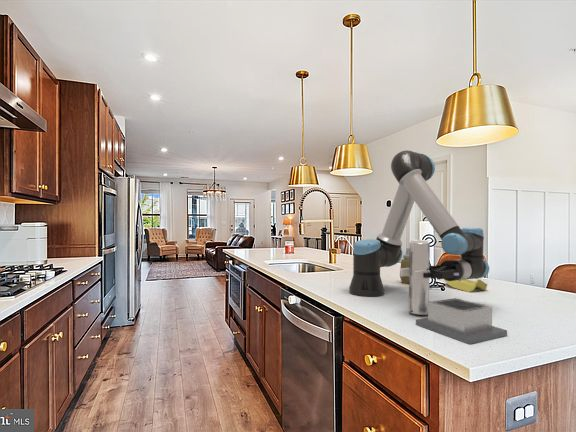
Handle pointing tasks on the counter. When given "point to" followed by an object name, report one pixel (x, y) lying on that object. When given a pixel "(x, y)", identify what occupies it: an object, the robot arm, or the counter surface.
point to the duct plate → (461, 320)
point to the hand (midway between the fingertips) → (408, 273)
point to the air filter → (419, 288)
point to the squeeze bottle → (405, 266)
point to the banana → (467, 285)
